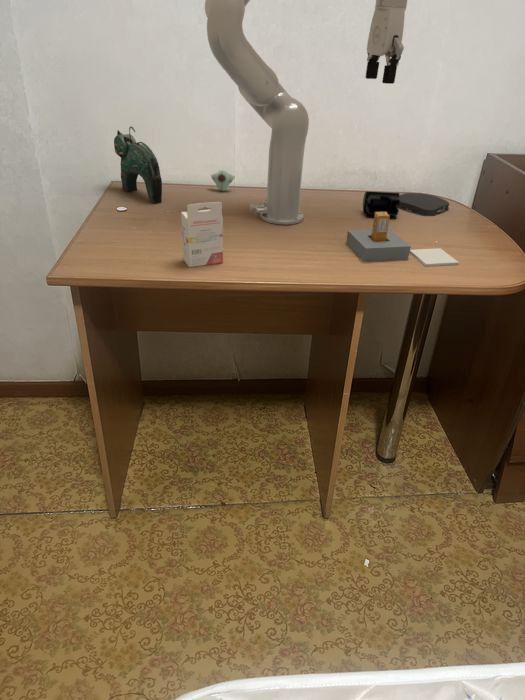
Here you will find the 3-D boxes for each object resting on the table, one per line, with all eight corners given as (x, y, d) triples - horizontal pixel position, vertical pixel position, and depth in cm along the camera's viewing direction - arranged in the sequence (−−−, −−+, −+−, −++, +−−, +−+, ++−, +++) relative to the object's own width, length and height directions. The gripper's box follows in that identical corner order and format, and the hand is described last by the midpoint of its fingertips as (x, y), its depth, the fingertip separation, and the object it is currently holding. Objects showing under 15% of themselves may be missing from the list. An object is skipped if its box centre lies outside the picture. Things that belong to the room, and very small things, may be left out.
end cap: (393, 212, 161) (397, 190, 158) (398, 219, 155) (402, 197, 152) (361, 210, 161) (364, 188, 157) (365, 218, 155) (368, 195, 151)
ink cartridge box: (216, 255, 126) (216, 195, 118) (223, 263, 123) (223, 201, 114) (182, 259, 123) (179, 198, 115) (188, 267, 119) (186, 205, 111)
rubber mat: (425, 266, 127) (426, 264, 126) (408, 252, 134) (409, 249, 134) (458, 264, 129) (458, 262, 128) (439, 250, 136) (440, 248, 136)
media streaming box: (412, 198, 175) (414, 189, 174) (452, 209, 167) (454, 200, 165) (388, 206, 167) (390, 197, 165) (428, 219, 158) (430, 209, 157)
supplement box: (367, 248, 135) (374, 210, 129) (380, 248, 135) (387, 211, 130) (371, 253, 132) (378, 215, 126) (384, 253, 132) (391, 215, 127)
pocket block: (363, 261, 127) (365, 248, 125) (345, 243, 137) (347, 230, 135) (407, 259, 130) (410, 246, 128) (387, 241, 140) (390, 229, 138)
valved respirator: (235, 190, 172) (235, 169, 168) (233, 194, 168) (234, 172, 165) (211, 188, 172) (211, 167, 168) (209, 192, 169) (209, 171, 165)
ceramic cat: (116, 189, 166) (109, 122, 155) (134, 186, 170) (128, 120, 159) (150, 205, 155) (145, 134, 144) (168, 202, 158) (165, 132, 147)
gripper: (362, 1, 132) (352, 76, 142) (394, 1, 119) (381, 85, 128) (388, 3, 134) (377, 77, 144) (423, 3, 121) (408, 85, 130)
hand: (379, 80), depth 136 cm, fingers open, 9 cm apart
